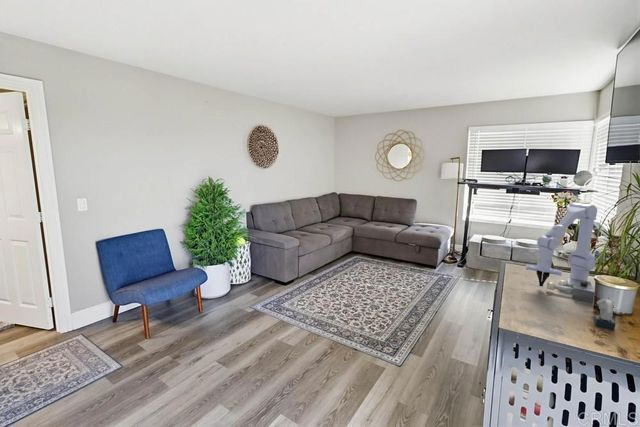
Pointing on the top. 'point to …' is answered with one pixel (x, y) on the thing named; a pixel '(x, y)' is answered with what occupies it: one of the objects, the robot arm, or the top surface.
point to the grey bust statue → (605, 315)
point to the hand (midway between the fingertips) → (540, 285)
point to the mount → (582, 290)
